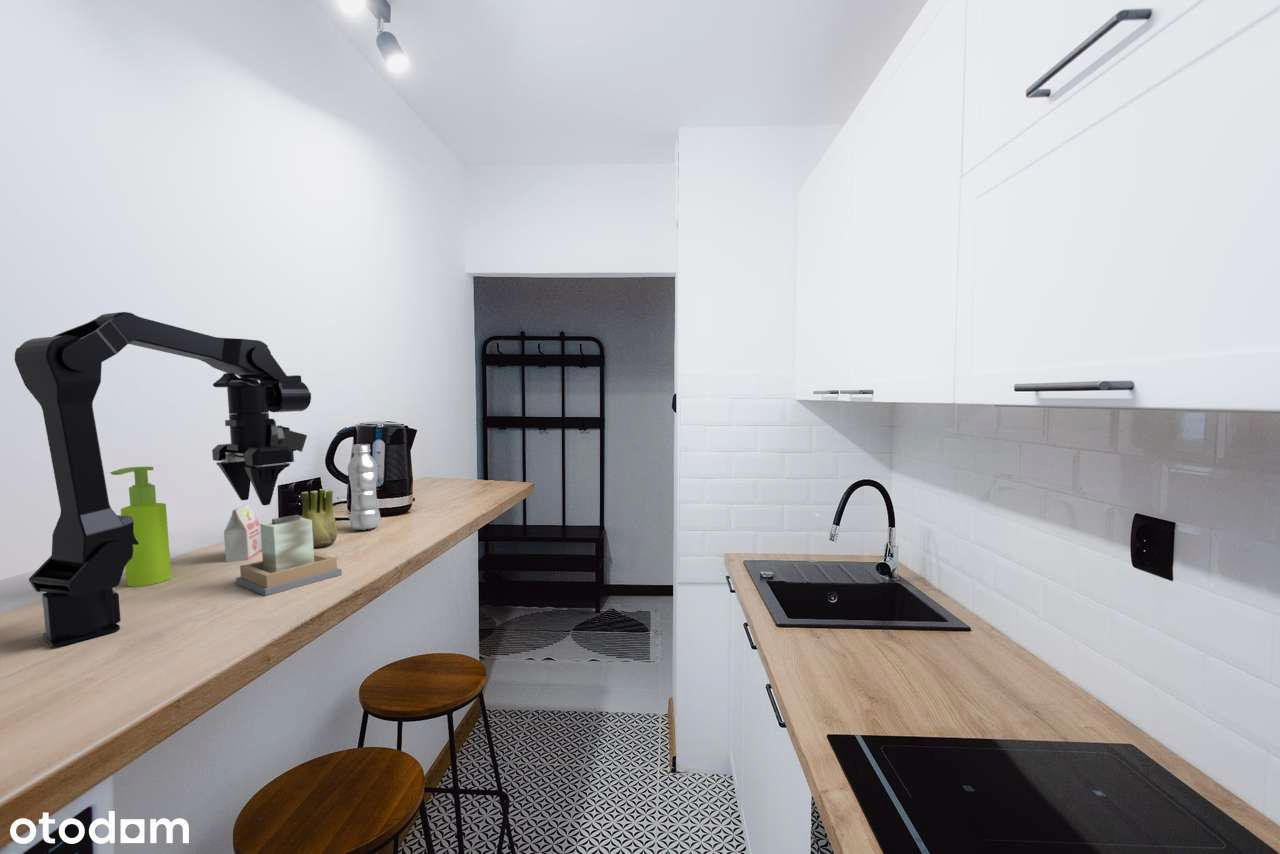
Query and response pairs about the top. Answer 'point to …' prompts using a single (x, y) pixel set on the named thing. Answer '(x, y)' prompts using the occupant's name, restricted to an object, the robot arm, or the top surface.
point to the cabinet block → (286, 543)
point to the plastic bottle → (363, 489)
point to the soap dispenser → (146, 532)
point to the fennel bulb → (320, 517)
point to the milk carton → (242, 535)
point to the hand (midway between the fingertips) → (255, 502)
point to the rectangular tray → (287, 575)
